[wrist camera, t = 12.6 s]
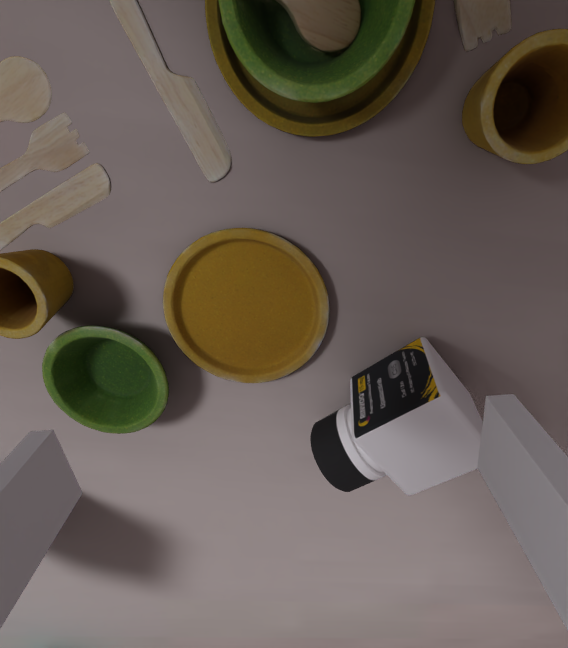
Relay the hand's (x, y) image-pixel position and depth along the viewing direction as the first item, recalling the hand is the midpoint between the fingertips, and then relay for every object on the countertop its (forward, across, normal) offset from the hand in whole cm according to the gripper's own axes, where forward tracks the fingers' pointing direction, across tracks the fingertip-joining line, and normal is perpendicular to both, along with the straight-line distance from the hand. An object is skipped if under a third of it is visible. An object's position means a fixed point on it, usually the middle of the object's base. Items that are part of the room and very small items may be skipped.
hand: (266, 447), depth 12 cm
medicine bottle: (+14, +12, -9) cm, 21 cm away
